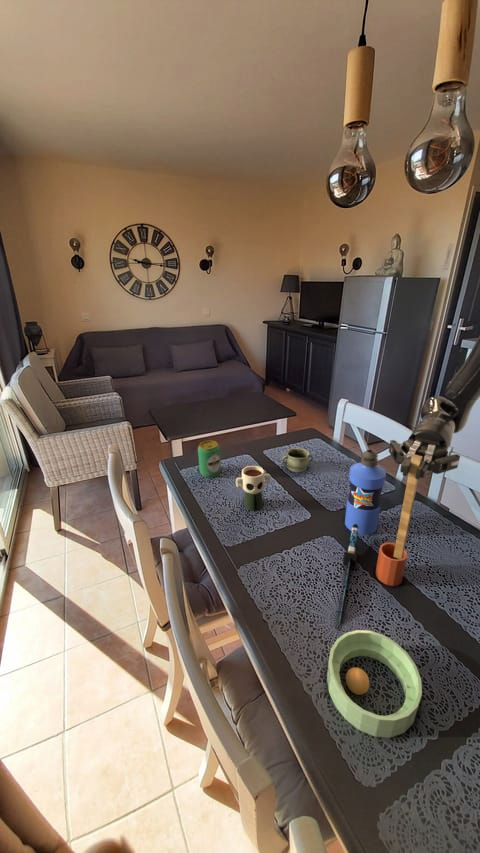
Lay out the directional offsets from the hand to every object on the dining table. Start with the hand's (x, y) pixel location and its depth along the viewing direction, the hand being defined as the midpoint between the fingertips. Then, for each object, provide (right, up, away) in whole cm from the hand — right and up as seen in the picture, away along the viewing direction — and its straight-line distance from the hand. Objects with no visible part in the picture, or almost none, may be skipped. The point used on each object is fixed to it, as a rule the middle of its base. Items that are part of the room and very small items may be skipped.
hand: (411, 473), depth 66 cm
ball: (-10, -39, 0) cm, 40 cm away
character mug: (-27, -17, +52) cm, 61 cm away
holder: (+5, -29, +23) cm, 37 cm away
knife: (-5, -29, +23) cm, 38 cm away
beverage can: (-43, -9, +71) cm, 83 cm away
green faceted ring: (-8, -40, 0) cm, 40 cm away
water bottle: (+4, -21, +41) cm, 46 cm away
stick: (+2, -19, +11) cm, 22 cm away
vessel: (-9, -7, +73) cm, 74 cm away
